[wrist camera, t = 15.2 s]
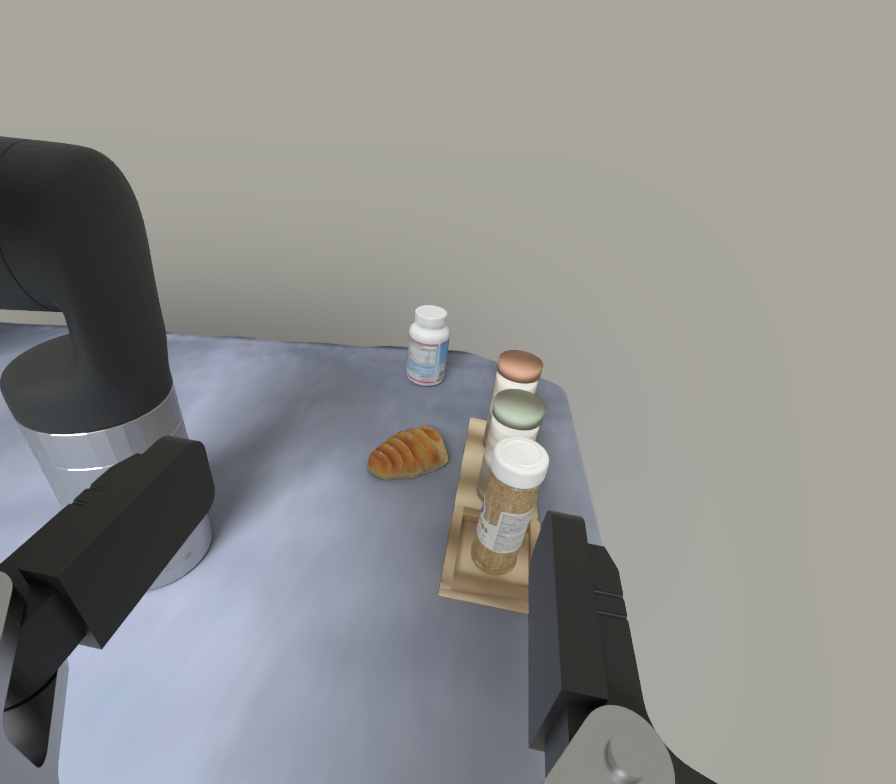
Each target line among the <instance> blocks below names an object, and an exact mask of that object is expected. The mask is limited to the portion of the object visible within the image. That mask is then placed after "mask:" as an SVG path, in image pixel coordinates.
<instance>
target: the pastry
mask: <svg viewBox="0 0 896 784" xmlns="http://www.w3.org/2000/svg"><path fill="white" fill-rule="evenodd" d="M448 459H449V458H448V454H447V449H446V447H445V445H444V441H443V438H442V437H441V435H440V434H439V433H438V432H437V430H436V429H435V428H431V427H430V426H428V425H424V426H420V427H419V428H416V429H409V430H406V431H402V432H399V433H397V434H396V435H394V436H393V437H391V438H389V439H388V440H387V441H386V442H384V443H383V444H381V445H380V446H379V447H378V448H376V450H375V451H373V452H372V453H371V455H370V458H369V463H368V469H369V471H370V472H371V473H372V474H373V475H375V476H377V477H379V478H381V479H383V480H391V479H395V478H398V479H402V478H407V479H413V478H415V477H416V476H421V475H423V474H426V473H431V472H433V471H435V470H438V469H440V468H442V467H443V466H445V465H446V464H447V463H448Z"/></svg>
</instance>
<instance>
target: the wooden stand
mask: <svg viewBox="0 0 896 784" xmlns="http://www.w3.org/2000/svg"><path fill="white" fill-rule="evenodd" d="M542 368H543V363H542V361H541V360H540V359H539V358H538V357H537V356H535V355H533V354H531V353H528V352H525V351H519V350H510V351H505V352H503V353H502V354H501V355H500V356H499V361H498V366H497V375H496V380H495V384H494V389H493V394H492V399H491V404H490V408H489V413H488V418H487V420H481V419H476V418H471V417H470V422H469V428H468V433H467V439H466V444H465V450H464V455H463V461H462V466H461V472H460V477H459V483H458V489H457V494H456V500H455V505H454V511H453V516H452V522H451V527H450V533H449V538H448V544H447V549H446V555H445V560H444V566H443V572H442V577H441V583H440V588H439V594H438V596H443V597H448V598H453V599H457V600H462V601H467V602H472V603H477V604H481V605H486V606H491V607H496V608H501V609H505V610H510V611H515V612H520V613H525V614H529V594H528V582H529V568H530V561H531V557H532V553H533V550H534V547H535V544H536V541H537V538H538V536H539V533H540V522H539V521H538V512H537V496H536V499H535V505H534V508H533V511H532V514H531V517H530V520H529V523H528V526H527V529H526V532H525V535H524V538H523V541H522V544H521V546H520V548H519V551H518V554H517V561H516V564H515V566H514V568H513V569H512V570H511V571H510V572H508V573H506V574H503V575H492V574H489V573H486V572H484V571H482V570H481V569H480V568H479V567H477V566H476V564H475V563H474V561H473V559H472V557H471V546H472V544H473V542H474V540H475V535H476V532H477V525H478V521H479V517H480V513H481V509H482V505H483V501H484V496H485V493H486V491H487V486H488V482H489V478H490V474H491V459H492V455H493V451H494V447H495V445H496V444H497V443H498V442H499V441H500V440H501V439H503V438H506V437H511V436H519V437H525V438H528V439H531V440H533V441H535V442H536V437H537V433H538V430H539V426H540V425H541V423H542V420H543V416H544V413H545V410H546V407H545V404H544V402H543V401H542V400H541V399H540V398H539V397H538V396H536V395H535V391H536V387H537V383H538V380H539V378H540V376H541V372H542Z"/></svg>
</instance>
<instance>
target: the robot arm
mask: <svg viewBox="0 0 896 784" xmlns="http://www.w3.org/2000/svg"><path fill="white" fill-rule="evenodd" d="M0 309H6V310H28V311H52V312H63V314H64V316H65V319H66V323H67V326H68V329H69V333H70V334H67V335H63V336H60V337H57V338H54V339H51V340H48V341H46V342H43V343H41V344H39V345H37V346H34V347H33V348H31V349H29V350H27V351H26V352H24V353H22V354H21V355H19V356H18V357H17V358H15V359H14V360H13V361H12V362H10V363H9V364H8V366H7V367H6V368H5V370H4V371H3V373H2V375H1V379H0V387H1V392H2V394H3V397H4V399H5V401H6V403H7V405H8V407H9V409H10V411H11V413H12V415H13V416H14V418H15V420H16V421H17V423H18V425H19V427H20V429H21V431H22V433H23V435H24V437H25V439H26V440H27V442H28V444H29V446H30V448H31V450H32V452H33V454H34V456H35V457H36V459H37V461H38V463H39V465H40V466H41V468H42V470H43V472H44V474H45V476H46V478H47V480H48V482H49V484H50V486H51V488H52V490H53V491H54V493H55V495H56V497H57V499H58V501H59V503H60V505H61V507H62V510H61V511H60V512H59V513H58V514H57V515H55V516H54V517H53V518H52V519H51V520H50V521H49V522H47V523H46V524H45V525H44V526H43V527H42V528H41V529H40V530H38V531H37V532H36V533H35V534H34V535H33V536H32V537H30V538H29V539H28V540H27V541H26V542H25V543H24V544H23V545H21V546H20V547H19V548H18V549H17V550H16V551H15V552H13V553H12V554H11V555H10V556H9V557H8V558H7V559H5V560H4V561H3V562H2V563H1V564H0V784H59V778H58V760H59V751H60V742H61V733H62V724H63V715H64V706H65V697H66V688H67V679H68V670H69V664H68V660H67V658H68V656H69V655H70V654H71V653H72V651H73V650H74V649H75V648H76V647H77V645H78V644H80V645H85V646H89V647H94V648H98V649H103V647H104V646H105V645H106V643H107V642H108V641H109V639H110V638H111V637H112V636H113V634H114V633H115V632H116V630H117V629H118V628H119V627H120V625H121V624H122V623H123V621H124V620H125V619H126V618H127V616H128V615H129V614H130V612H131V611H132V610H133V609H134V607H135V606H136V605H137V603H138V602H139V601H140V599H141V598H142V597H143V596H144V594H145V593H146V592H147V591H149V590H153V589H156V588H160V587H162V586H165V585H167V584H169V583H172V582H174V581H175V580H177V579H179V578H181V577H182V576H184V575H185V574H186V573H188V572H189V571H190V570H192V569H193V568H194V567H195V566H196V565H197V564H198V563H199V562H200V561H201V560H202V558H203V557H204V555H205V554H206V552H207V551H208V549H209V546H210V544H211V541H212V528H211V523H210V520H209V516H208V511H209V509H210V507H211V505H212V502H213V499H214V493H215V488H214V483H213V479H212V475H211V471H210V467H209V463H208V459H207V454H206V450H205V447H204V445H203V444H202V443H201V442H200V441H195V440H190V439H188V436H187V432H186V428H185V424H184V421H183V417H182V413H181V410H180V406H179V403H178V399H177V395H176V391H175V387H174V384H173V380H172V376H171V372H170V368H169V362H168V350H167V338H166V331H165V325H164V321H163V317H162V313H161V308H160V303H159V298H158V293H157V289H156V283H155V278H154V272H153V266H152V261H151V255H150V249H149V244H148V239H147V234H146V230H145V225H144V221H143V218H142V215H141V211H140V208H139V205H138V202H137V199H136V197H135V195H134V193H133V190H132V188H131V186H130V184H129V182H128V181H127V179H126V178H125V176H124V174H123V173H122V172H121V170H120V169H119V168H118V167H117V166H116V165H115V163H114V162H113V161H111V160H110V159H109V158H108V157H106V156H105V155H104V154H102V153H100V152H98V151H96V150H94V149H91V148H87V147H83V146H79V145H71V144H65V143H57V142H48V141H39V140H28V139H20V138H10V137H1V136H0ZM528 594H529V748H530V749H535V750H539V751H544V752H545V777H546V779H545V780H544V782H543V783H542V784H717V783H715V782H714V781H712V780H710V779H709V778H707V777H705V776H704V775H702V774H700V773H699V772H697V771H695V770H693V769H692V768H690V767H689V766H688V765H686V764H685V763H683V762H682V761H681V760H680V759H679V758H678V757H676V756H675V755H674V754H673V753H672V752H671V750H670V749H669V748H668V747H667V746H666V745H665V744H664V742H663V741H662V739H661V738H660V736H659V735H658V734H657V732H656V731H655V729H654V727H653V725H652V723H651V721H650V719H649V717H648V715H647V712H646V709H645V705H644V701H643V696H642V691H641V685H640V680H639V675H638V670H637V664H636V659H635V654H634V649H633V644H632V638H631V633H630V628H629V623H628V621H627V619H626V618H627V613H626V607H625V602H624V599H623V591H622V586H621V581H620V576H619V571H618V568H617V567H616V565H615V563H614V562H613V560H612V559H611V557H610V555H609V554H608V552H607V550H606V549H605V547H603V546H598V545H593V544H588V543H587V535H586V528H585V522H584V519H583V518H582V517H579V516H574V515H569V514H564V513H559V512H554V511H548V512H547V513H546V516H545V518H544V521H543V524H542V527H541V530H540V533H539V536H538V538H537V541H536V544H535V547H534V550H533V553H532V557H531V561H530V568H529V582H528Z"/></svg>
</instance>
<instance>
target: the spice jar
mask: <svg viewBox="0 0 896 784" xmlns="http://www.w3.org/2000/svg"><path fill="white" fill-rule="evenodd" d="M548 465H549V456H548V454H547V452H546V450H545V449H544V448H543V447H542V446H541V445H540V444H538V443H537V442H535V441H533V440H531V439H528V438H525V437H519V436H511V437H506V438H503V439H501V440H500V441H499V442H498V443H497V444H496V445H495V447H494V451H493V455H492V459H491V474H490V478H489V482H488V486H487V491H486V493H485V496H484V501H483V505H482V509H481V513H480V517H479V521H478V525H477V532H476V535H475V540H474V542H473V544H472V546H471V557H472V559H473V561H474V563H475V564H476V566H477V567H479V568H480V569H481V570H482V571H484V572H486V573H489V574H492V575H503V574H506V573H508V572H510V571H511V570H512V569H513V568H514V566H515V564H516V561H517V554H518V551H519V548H520V546H521V544H522V541H523V538H524V535H525V532H526V529H527V526H528V523H529V520H530V517H531V514H532V511H533V508H534V505H535V499H536V496H537V493H538V490H539V487H540V484H541V483H542V482H543V480H544V478H545V476H546V473H547V469H548Z"/></svg>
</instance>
